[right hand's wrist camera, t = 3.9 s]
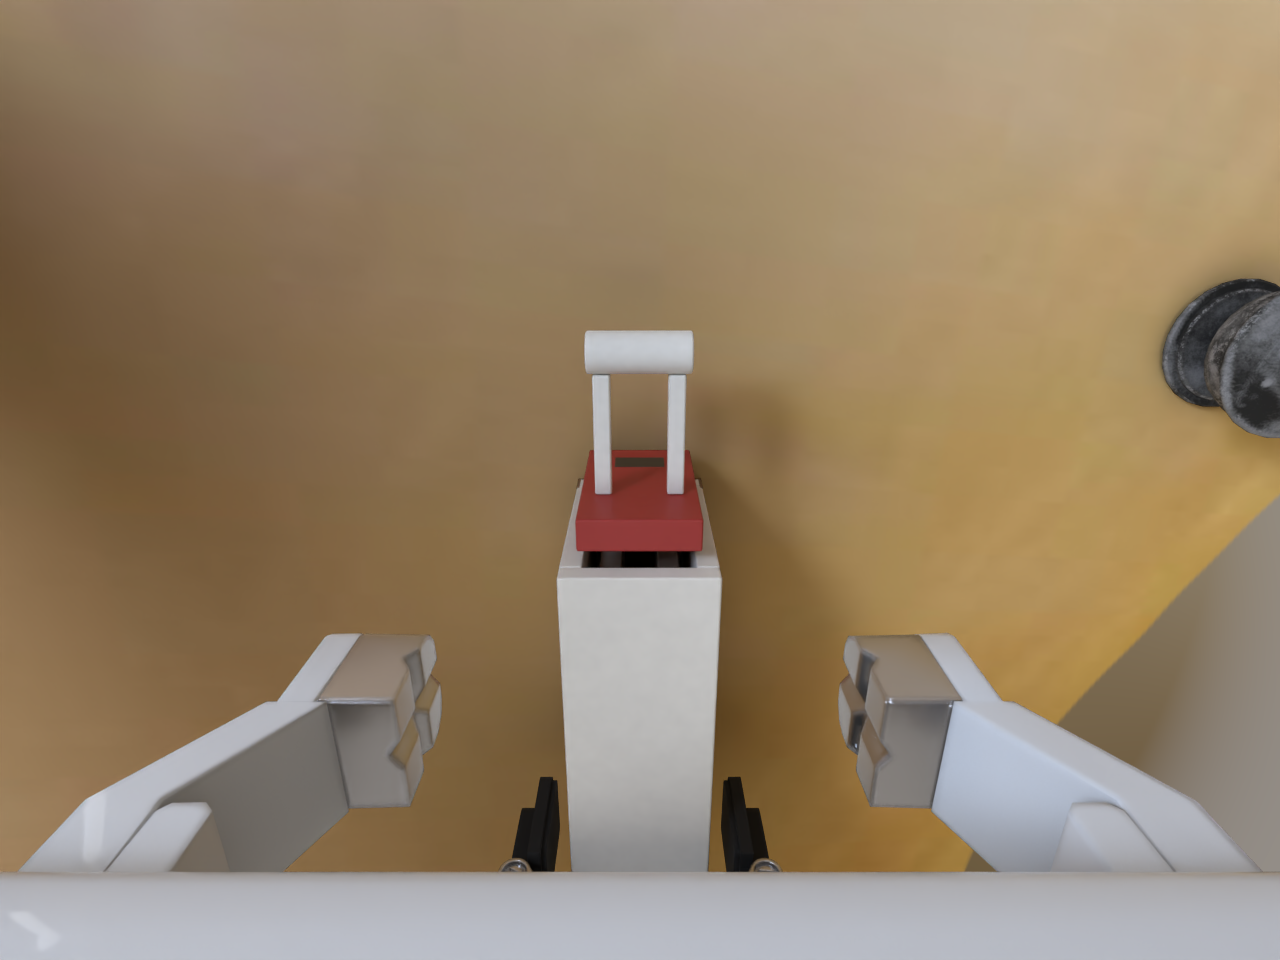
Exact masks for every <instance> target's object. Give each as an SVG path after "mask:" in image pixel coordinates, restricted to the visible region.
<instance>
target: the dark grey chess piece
mask: <svg viewBox="0 0 1280 960" xmlns="http://www.w3.org/2000/svg"><path fill="white" fill-rule="evenodd" d="M1162 368H1163V372H1164V375H1165V379H1166V382H1167V383H1168V385H1169V386H1170V388H1171V389H1172V390H1173V392H1174V393H1175V394H1176V395H1178V396H1179V397H1181V398H1182V399H1183V400H1185V401H1186V402H1189V403H1193V404H1196V405H1200V406H1211V407H1219V406H1220V407H1221V408H1222V409H1223V410H1224V411H1226V412H1227V414H1228V415H1229V417H1230V418H1231V420H1232V421H1233V422H1234V423H1235V424H1237V425H1238V426H1239V427H1241V428H1242V429H1244V430H1245V431H1247V432H1249V433H1252V434H1256V435H1259V436H1262V437H1266V438H1280V287H1279V286H1278V285H1276V284H1274V283H1271V282H1268V281H1264V280H1261V279H1238V280H1234V281H1230V282H1226V283H1222V284H1220V285H1218V286H1216V287H1214V288H1212V289H1210V290H1208V291H1206V292H1204V293H1203V294H1202V295H1201V296H1199V297H1198V298H1197V299H1195V300H1194V301H1193V302H1192V303H1190V304H1189V305H1188V307H1187V308H1186V309H1185V310H1184V311H1183V312H1182V313H1181V315H1180V316H1179V317H1178V318H1177V319H1176V321H1175V323H1174V325H1173V327H1172V328H1171V330H1170V332H1169V334H1168V336H1167V339H1166V343H1165V346H1164V349H1163V364H1162Z"/></svg>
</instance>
